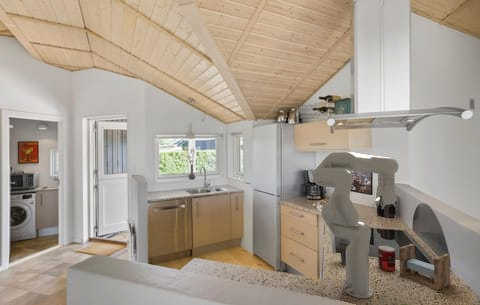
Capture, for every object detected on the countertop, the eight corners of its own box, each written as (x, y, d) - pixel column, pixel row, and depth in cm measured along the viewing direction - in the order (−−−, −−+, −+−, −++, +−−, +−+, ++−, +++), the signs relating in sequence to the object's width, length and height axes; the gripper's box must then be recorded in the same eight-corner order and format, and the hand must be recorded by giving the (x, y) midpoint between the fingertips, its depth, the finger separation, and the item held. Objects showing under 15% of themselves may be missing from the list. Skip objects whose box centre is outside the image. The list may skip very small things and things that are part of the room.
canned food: (379, 263, 138) (379, 244, 138) (396, 267, 133) (396, 247, 133) (377, 268, 132) (376, 248, 132) (394, 273, 127) (394, 251, 127)
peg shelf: (437, 290, 110) (437, 259, 111) (399, 275, 125) (399, 247, 125) (450, 284, 116) (449, 254, 116) (412, 269, 131) (412, 243, 131)
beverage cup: (338, 259, 144) (338, 225, 144) (351, 261, 142) (351, 226, 142) (339, 265, 137) (339, 229, 137) (353, 266, 135) (353, 230, 135)
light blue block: (406, 267, 124) (406, 260, 125) (413, 265, 127) (413, 258, 127) (434, 277, 114) (434, 270, 114) (440, 274, 117) (440, 267, 117)
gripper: (388, 181, 135) (389, 212, 134) (369, 182, 126) (369, 215, 126) (403, 182, 128) (403, 214, 128) (383, 184, 120) (383, 219, 119)
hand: (386, 215), depth 127 cm, fingers open, 9 cm apart
